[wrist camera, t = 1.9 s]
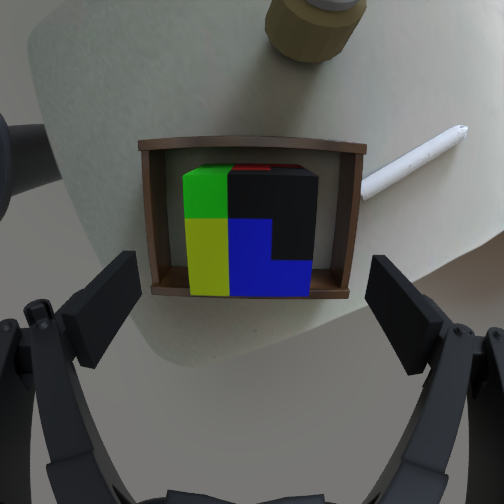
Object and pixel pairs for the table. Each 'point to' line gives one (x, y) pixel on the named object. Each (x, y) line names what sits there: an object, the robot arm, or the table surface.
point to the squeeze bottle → (312, 27)
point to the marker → (411, 161)
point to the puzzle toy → (250, 229)
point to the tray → (153, 159)
